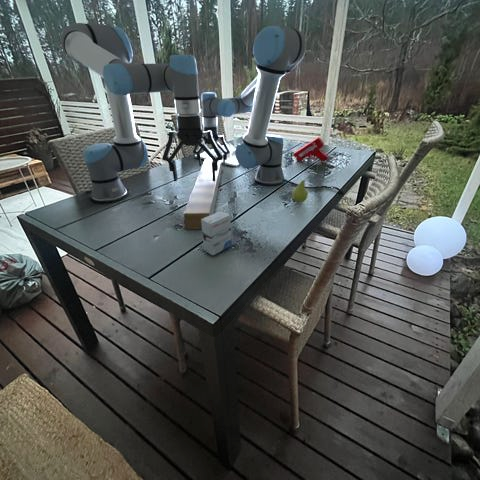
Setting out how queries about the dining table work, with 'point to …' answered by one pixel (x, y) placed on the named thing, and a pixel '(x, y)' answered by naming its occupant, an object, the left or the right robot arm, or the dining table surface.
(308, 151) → the toy gun
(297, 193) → the fruit
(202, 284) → the dining table surface
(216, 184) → the slab
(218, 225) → the ink box
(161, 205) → the dining table surface
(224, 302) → the dining table surface
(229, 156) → the relief map
